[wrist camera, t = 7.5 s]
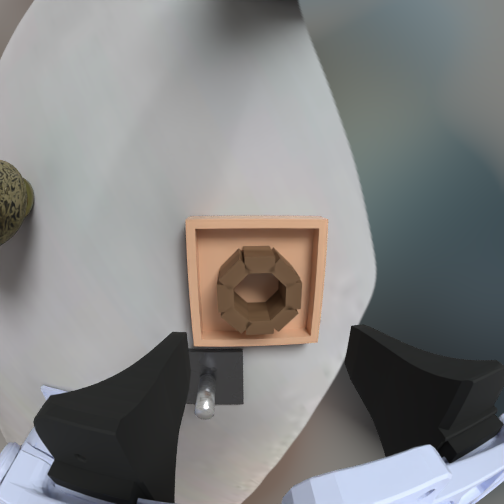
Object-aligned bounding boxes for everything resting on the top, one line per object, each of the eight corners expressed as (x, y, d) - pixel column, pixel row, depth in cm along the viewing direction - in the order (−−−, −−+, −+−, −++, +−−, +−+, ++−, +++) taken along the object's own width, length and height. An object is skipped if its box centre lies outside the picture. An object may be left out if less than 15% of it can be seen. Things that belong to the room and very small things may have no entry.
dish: (311, 331, 22) (317, 342, 20) (196, 334, 21) (194, 346, 20) (320, 216, 20) (328, 219, 18) (189, 216, 19) (185, 219, 17)
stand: (243, 400, 23) (245, 436, 19) (178, 399, 23) (171, 434, 19) (242, 348, 22) (244, 384, 17) (169, 347, 22) (157, 382, 17)
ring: (290, 312, 21) (299, 332, 18) (221, 315, 21) (219, 335, 18) (293, 245, 20) (303, 255, 17) (218, 246, 19) (215, 258, 16)
